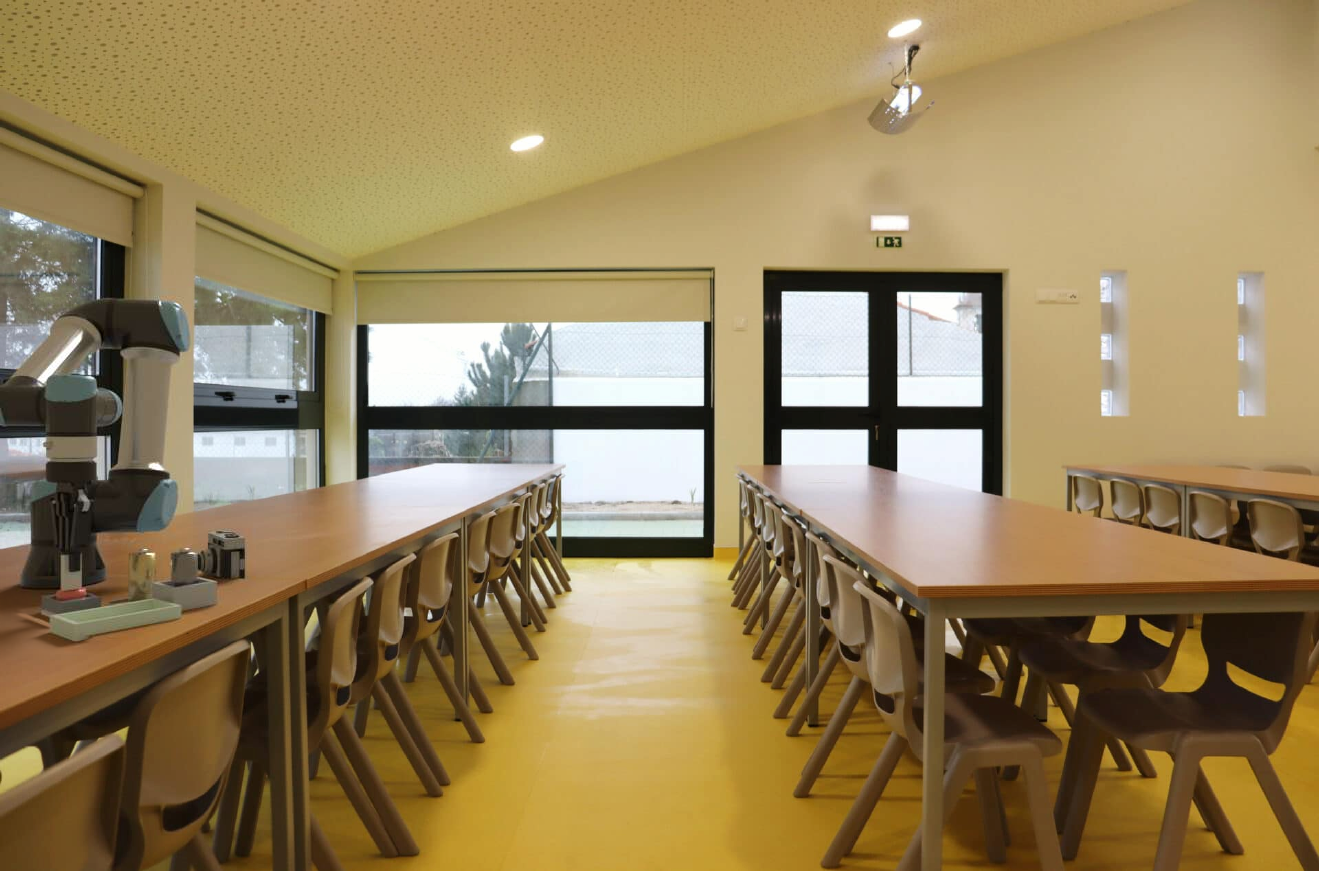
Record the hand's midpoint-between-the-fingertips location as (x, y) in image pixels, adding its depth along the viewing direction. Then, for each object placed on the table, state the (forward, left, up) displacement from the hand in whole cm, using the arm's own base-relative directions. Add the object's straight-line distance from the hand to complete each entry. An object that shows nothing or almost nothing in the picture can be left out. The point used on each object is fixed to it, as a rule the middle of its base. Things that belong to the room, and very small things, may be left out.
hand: (71, 588), depth 147 cm
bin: (+10, +15, -5) cm, 19 cm away
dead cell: (+10, +15, -4) cm, 19 cm away
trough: (+14, +2, -5) cm, 15 cm away
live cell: (+1, +12, -5) cm, 13 cm away
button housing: (0, 0, -5) cm, 5 cm away
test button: (0, 0, -2) cm, 2 cm away
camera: (-15, +35, -5) cm, 38 cm away
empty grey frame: (+1, +12, -5) cm, 13 cm away
